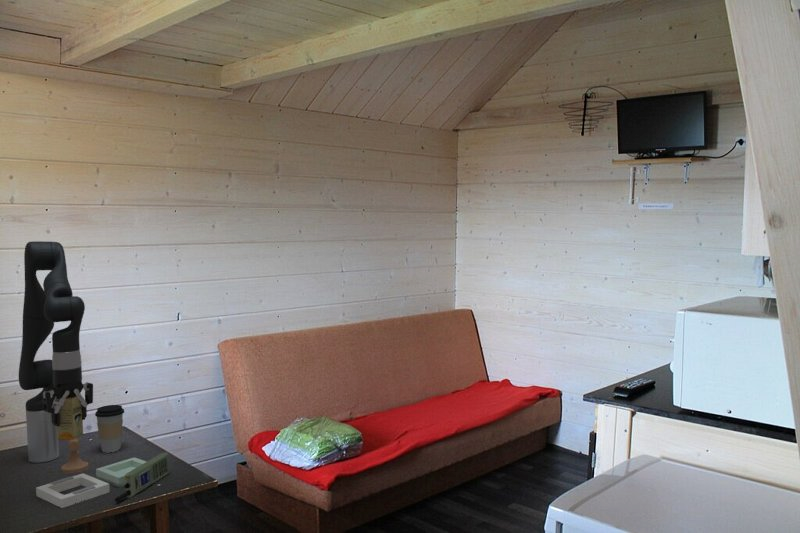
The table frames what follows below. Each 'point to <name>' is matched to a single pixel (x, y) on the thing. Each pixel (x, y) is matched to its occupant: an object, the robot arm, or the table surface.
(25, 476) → the table surface
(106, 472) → the tray
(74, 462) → the door knob
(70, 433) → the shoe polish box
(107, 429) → the coffee cup
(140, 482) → the handheld radio
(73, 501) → the holder
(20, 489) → the table surface
